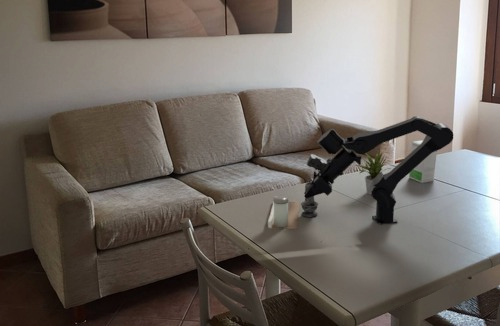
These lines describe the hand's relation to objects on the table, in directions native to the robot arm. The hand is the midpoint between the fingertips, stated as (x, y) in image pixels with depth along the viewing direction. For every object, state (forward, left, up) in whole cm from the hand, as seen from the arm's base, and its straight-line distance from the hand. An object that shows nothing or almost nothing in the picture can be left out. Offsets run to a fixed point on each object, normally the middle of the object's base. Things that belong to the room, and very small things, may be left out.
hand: (305, 195), depth 183 cm
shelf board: (+2, +6, -8) cm, 11 cm away
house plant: (+20, -33, -8) cm, 39 cm away
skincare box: (+30, -58, -8) cm, 66 cm away
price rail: (+3, +10, -8) cm, 14 cm away
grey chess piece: (0, -1, -7) cm, 7 cm away
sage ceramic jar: (-7, +10, -7) cm, 14 cm away
